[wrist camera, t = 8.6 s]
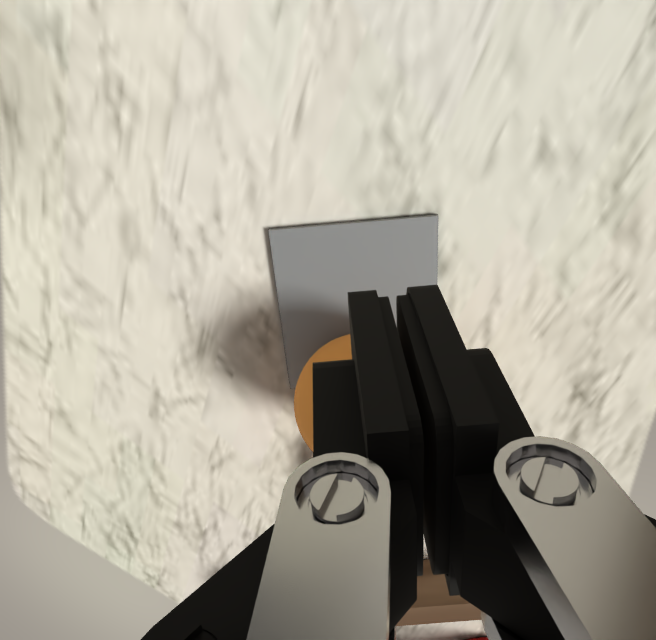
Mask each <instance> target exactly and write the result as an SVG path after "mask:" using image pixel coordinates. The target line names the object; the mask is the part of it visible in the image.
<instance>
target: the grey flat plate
mask: <svg viewBox="0 0 656 640" xmlns="http://www.w3.org/2000/svg"><path fill="white" fill-rule="evenodd" d="M269 237H270V245H271V252H272V259H273V267H274V274H275V281H276V288H277V296H278V303H279V310H280V317H281V325H282V332H283V339H284V346H285V354H286V361H287V368H288V375H289V383H290V389H293V388H296V385H297V381H298V378H299V376H300V374H301V372H302V370H303V368H304V366H305V365H306V363H307V362H308V360H309V359H310V358H311V357H312V356H313V354H314V353H315V352H316V351H317V350H319V349H320V348H321V347H322V346H324V345H325V344H327V343H328V342H330V341H332V340H334V339H336V338H339V337H341V336H345V335H348V334H350V323H349V309H348V292H356V291H368V290H376V291H377V295H378V297H386V296H388V297H389V301H390V304H391V308H392V312H393V316H394V319H395V323H396V327H397V314H396V297H397V296H398V295H406V292H407V287H415V286H427V285H437V271H438V215H437V214H435V215H424V216H412V217H400V218H389V219H377V220H366V221H354V222H343V223H331V224H320V225H308V226H297V227H285V228H273V229H269Z"/></svg>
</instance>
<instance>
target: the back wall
mask: <svg viewBox="0 0 656 640" xmlns="http://www.w3.org/2000/svg"><path fill="white" fill-rule="evenodd" d="M469 620H482V619H481V610H480V609H478V608H477V607H475V606H474V605H472V604H471V603H469V602H468V601H466V600H465V599H463V598H462V597H460V595H456V596H449V591H448V587H447V583H446V579H445V574H440V575H433V573H432V570H431V566H430V561H429V559H427V560H423V576H417V600H416V602H415V603H414V604H413V605H412V606H411V608H410V609H409V610H408V611H407V612H406V614H405V615H404V616H403V617H402V618H401V620H400V621H399V622H398V623H397V624H396V626H404V625H417V624H430V623H443V622H456V621H469Z"/></svg>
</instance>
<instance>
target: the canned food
mask: <svg viewBox="0 0 656 640" xmlns="http://www.w3.org/2000/svg"><path fill="white" fill-rule="evenodd" d="M467 640H489V639H488V637H478V638H471V639H467Z"/></svg>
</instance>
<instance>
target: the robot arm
mask: <svg viewBox="0 0 656 640" xmlns="http://www.w3.org/2000/svg"><path fill="white" fill-rule="evenodd" d="M348 309H349V323H350V337H351V352H352V359H349V360H337V361H325V362H313V367H312V373H313V458H311V459H309V460H308V461H306V462H305V463H303V464H301V465H300V466H298V467H297V468H296V469H295V471H294V472H293V473H292V474H291V475H290V476H289V478H288V480H287V482H286V484H285V486H284V489H283V493H282V497H281V501H280V505H279V509H278V513H277V517H276V521H275V524H274V525H272V526H271V527H270V528H269V529H268V530H266V531H265V532H264V533H263V534H262V535H261V536H259V537H258V538H257V539H256V540H255V541H253V542H252V543H251V544H250V545H249V546H248V547H246V548H245V549H244V550H243V551H242V552H240V553H239V554H238V555H237V556H236V557H235V558H233V559H232V560H231V561H230V562H229V563H227V564H226V565H225V566H224V567H223V568H222V569H220V570H219V571H218V572H217V573H216V574H214V575H213V576H212V577H211V578H210V579H209V580H207V581H206V582H205V583H204V584H203V585H201V586H200V587H199V588H198V589H197V590H196V591H194V592H193V593H192V594H191V595H190V596H189V597H187V598H186V599H185V600H184V601H183V602H181V603H180V604H179V605H178V606H177V607H176V608H174V609H173V610H172V611H171V612H170V613H168V614H167V615H166V616H165V617H164V618H163V619H161V620H160V621H159V622H158V623H157V624H155V625H154V626H153V627H152V628H151V629H150V630H149V631H148V632H147V633H146V635H145V636H144V637H143V638H142V639H141V640H396V624H397V623H398V622H399V621H400V620H401V618H402V617H403V616H404V615H405V614H406V612H407V611H408V610H409V609H410V608H411V606H412V605H413V604H414V603H415V602H416V600H417V576H423V533H424V538H425V543H426V547H427V552H428V557H429V561H430V566H431V570H432V573H433V575H440V574H445V579H446V583H447V587H448V591H449V596H456V595H460V597H462V598H463V599H465V600H466V601H468V602H469V603H471V604H472V605H474V606H475V607H477V608H478V609H480V610H481V619H482V623H483V627H484V630H485V633H486V635H487V637H488V639H489V640H656V520H655V519H653V518H651V517H649V516H647V515H645V514H643V513H642V512H641V510H640V509H639V508H638V507H637V506H636V504H635V503H634V502H633V501H632V500H631V499H630V497H629V496H628V495H627V494H626V493H625V491H624V490H623V489H622V488H621V487H620V486H619V484H618V483H617V482H616V481H615V480H614V479H613V477H612V476H611V475H610V474H609V473H608V472H607V470H606V469H605V468H604V467H603V466H602V464H601V463H600V462H599V461H597V460H596V459H595V458H594V457H593V456H592V455H591V454H590V453H589V452H587V451H585V450H583V449H582V448H580V447H578V446H576V445H574V444H572V443H569V442H566V441H563V440H560V439H557V438H549V437H542V436H537V437H535V436H534V434H533V432H532V430H531V428H530V426H529V424H528V422H527V420H526V418H525V416H524V414H523V413H522V411H521V409H520V407H519V405H518V403H517V401H516V399H515V397H514V395H513V393H512V391H511V389H510V387H509V385H508V383H507V381H506V379H505V378H504V376H503V374H502V372H501V370H500V368H499V366H498V364H497V362H496V360H495V358H494V356H493V354H492V353H491V351H490V350H489V349H487V348H481V349H469V350H466V347H465V345H464V343H463V341H462V338H461V336H460V334H459V332H458V329H457V327H456V325H455V323H454V321H453V318H452V316H451V314H450V312H449V309H448V307H447V305H446V303H445V300H444V298H443V296H442V294H441V291H440V289H439V287H438V285H427V286H415V287H407V292H406V295H398V296H397V297H396V314H397V327H396V323H395V319H394V316H393V312H392V308H391V304H390V301H389V297H388V296H386V297H378V295H377V291H376V290H368V291H356V292H348Z"/></svg>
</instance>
